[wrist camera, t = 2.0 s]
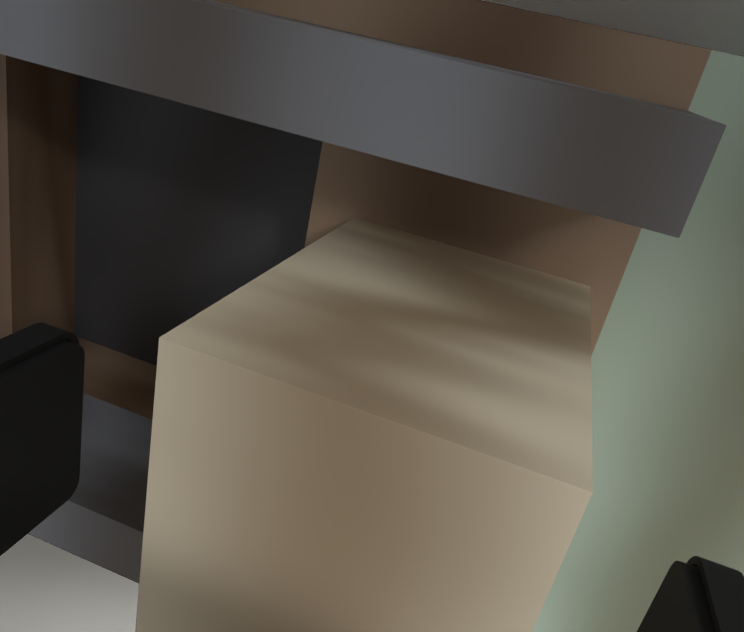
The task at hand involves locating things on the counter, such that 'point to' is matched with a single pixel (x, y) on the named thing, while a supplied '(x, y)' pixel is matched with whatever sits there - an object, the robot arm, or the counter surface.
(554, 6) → the counter surface
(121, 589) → the counter surface
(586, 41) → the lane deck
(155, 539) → the ash block
